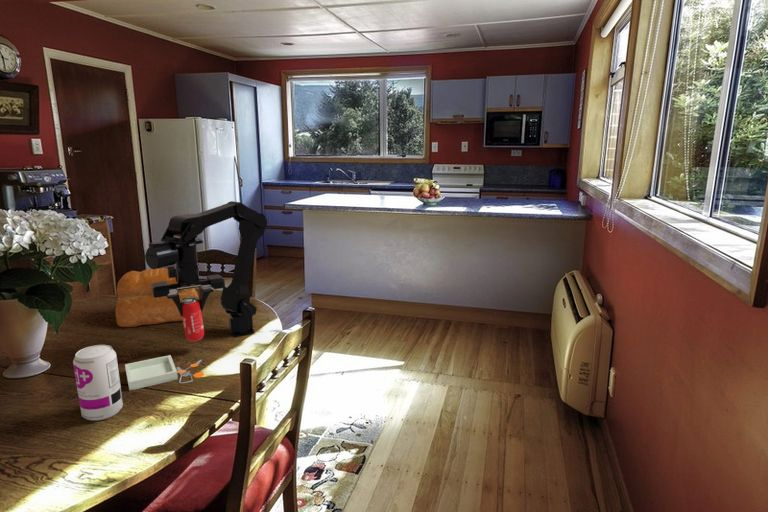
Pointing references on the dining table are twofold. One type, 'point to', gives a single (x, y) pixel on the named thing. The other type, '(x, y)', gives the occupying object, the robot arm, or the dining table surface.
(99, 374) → the supplement can
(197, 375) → the key chain
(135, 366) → the tray
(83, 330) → the dining table surface
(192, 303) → the beverage can
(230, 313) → the robot arm
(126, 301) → the bread
